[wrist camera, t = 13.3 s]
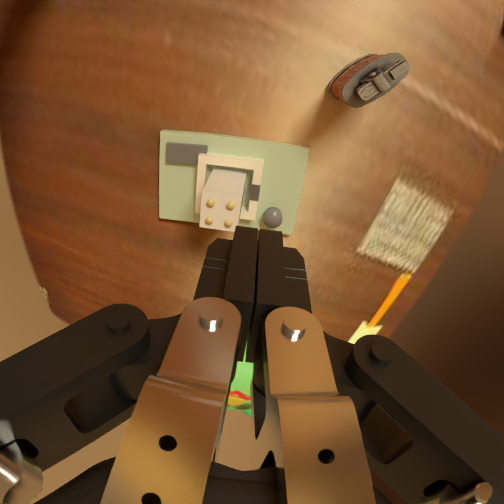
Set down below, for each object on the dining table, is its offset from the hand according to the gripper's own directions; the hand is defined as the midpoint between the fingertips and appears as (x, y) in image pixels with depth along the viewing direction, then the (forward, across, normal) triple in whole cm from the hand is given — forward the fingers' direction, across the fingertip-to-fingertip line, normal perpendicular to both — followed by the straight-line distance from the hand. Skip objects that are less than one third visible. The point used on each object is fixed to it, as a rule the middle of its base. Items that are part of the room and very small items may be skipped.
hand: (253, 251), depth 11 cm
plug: (+28, +3, +9) cm, 30 cm away
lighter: (+29, -10, -7) cm, 32 cm away
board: (+29, +3, +9) cm, 31 cm away
